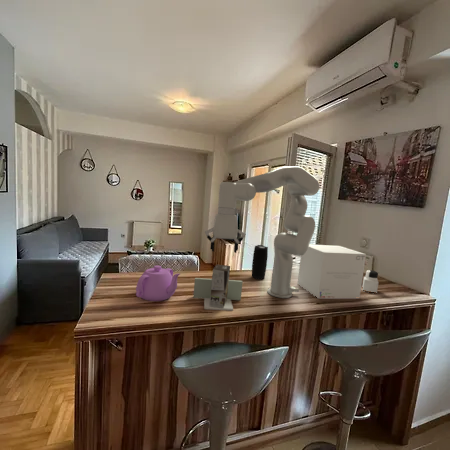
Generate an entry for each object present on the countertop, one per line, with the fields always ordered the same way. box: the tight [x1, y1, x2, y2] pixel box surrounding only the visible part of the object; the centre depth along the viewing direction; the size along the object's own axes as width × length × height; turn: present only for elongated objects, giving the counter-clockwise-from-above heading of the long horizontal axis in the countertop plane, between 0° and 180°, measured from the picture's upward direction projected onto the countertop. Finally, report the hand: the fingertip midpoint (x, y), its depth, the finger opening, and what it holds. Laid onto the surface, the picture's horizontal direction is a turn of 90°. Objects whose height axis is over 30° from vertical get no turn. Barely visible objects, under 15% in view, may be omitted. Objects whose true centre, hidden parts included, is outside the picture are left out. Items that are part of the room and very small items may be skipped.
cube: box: [296, 243, 367, 299], centre depth 147 cm, size 25×21×24 cm
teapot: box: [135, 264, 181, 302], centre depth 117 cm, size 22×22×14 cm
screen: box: [192, 277, 244, 301], centre depth 122 cm, size 22×1×9 cm, turn 95°
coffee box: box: [210, 264, 231, 308], centre depth 115 cm, size 9×6×16 cm
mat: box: [203, 298, 234, 311], centre depth 116 cm, size 12×10×1 cm
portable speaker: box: [251, 244, 269, 281], centre depth 160 cm, size 9×9×20 cm
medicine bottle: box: [361, 269, 379, 294], centre depth 154 cm, size 7×7×12 cm
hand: (224, 251), depth 113 cm, fingers open, 9 cm apart
